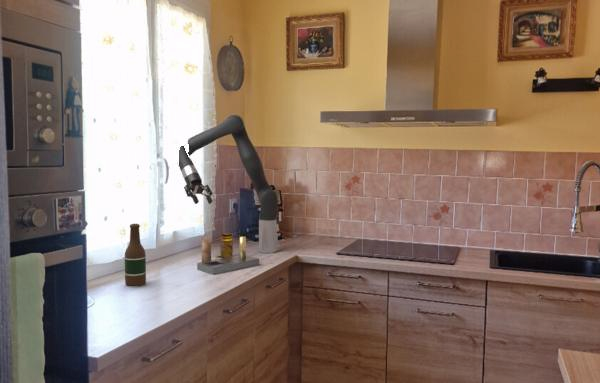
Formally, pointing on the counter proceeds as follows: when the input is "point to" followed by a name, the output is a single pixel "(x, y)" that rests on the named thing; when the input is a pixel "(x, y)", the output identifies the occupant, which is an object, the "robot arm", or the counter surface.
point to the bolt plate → (229, 261)
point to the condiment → (226, 246)
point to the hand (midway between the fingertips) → (204, 202)
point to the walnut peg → (206, 249)
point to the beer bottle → (135, 259)
